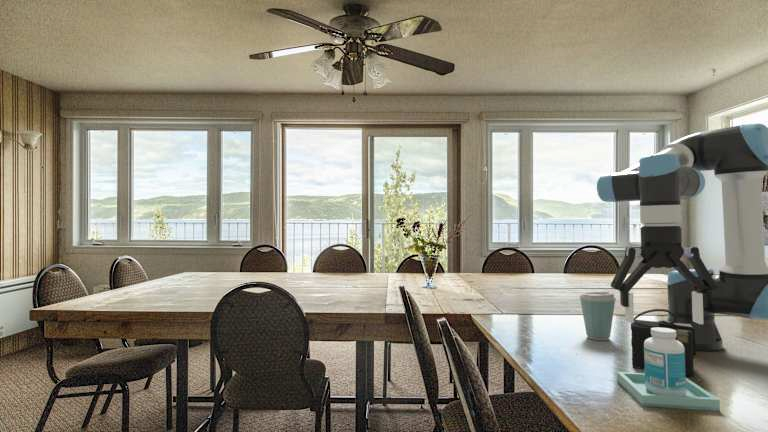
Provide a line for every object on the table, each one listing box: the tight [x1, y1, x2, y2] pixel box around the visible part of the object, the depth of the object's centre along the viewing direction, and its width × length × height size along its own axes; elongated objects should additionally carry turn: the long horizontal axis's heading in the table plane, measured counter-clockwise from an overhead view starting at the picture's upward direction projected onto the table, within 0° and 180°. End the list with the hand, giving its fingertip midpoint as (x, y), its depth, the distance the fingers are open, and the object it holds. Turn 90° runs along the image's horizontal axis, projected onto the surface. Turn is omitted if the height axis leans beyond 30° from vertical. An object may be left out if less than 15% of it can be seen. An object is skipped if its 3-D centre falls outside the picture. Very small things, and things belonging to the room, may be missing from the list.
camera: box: [630, 308, 697, 377], centre depth 109 cm, size 11×14×15 cm
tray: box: [616, 371, 721, 412], centre depth 91 cm, size 14×14×2 cm
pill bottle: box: [644, 327, 687, 396], centre depth 92 cm, size 8×7×14 cm
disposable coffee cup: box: [579, 291, 617, 341], centre depth 138 cm, size 11×11×15 cm
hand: (663, 322), depth 92 cm, fingers open, 13 cm apart
